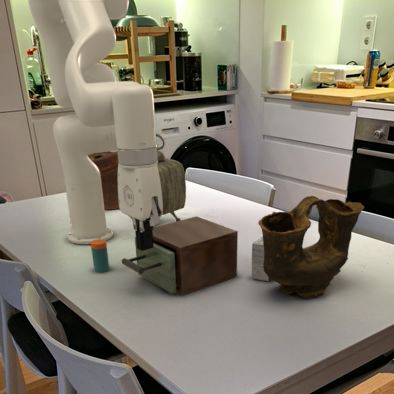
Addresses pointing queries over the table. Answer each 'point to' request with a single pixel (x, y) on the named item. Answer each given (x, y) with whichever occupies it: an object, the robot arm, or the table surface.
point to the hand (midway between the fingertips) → (145, 248)
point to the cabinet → (200, 252)
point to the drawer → (157, 265)
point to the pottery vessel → (313, 255)
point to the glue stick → (100, 255)
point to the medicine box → (258, 261)
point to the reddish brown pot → (108, 176)
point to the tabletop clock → (171, 183)
